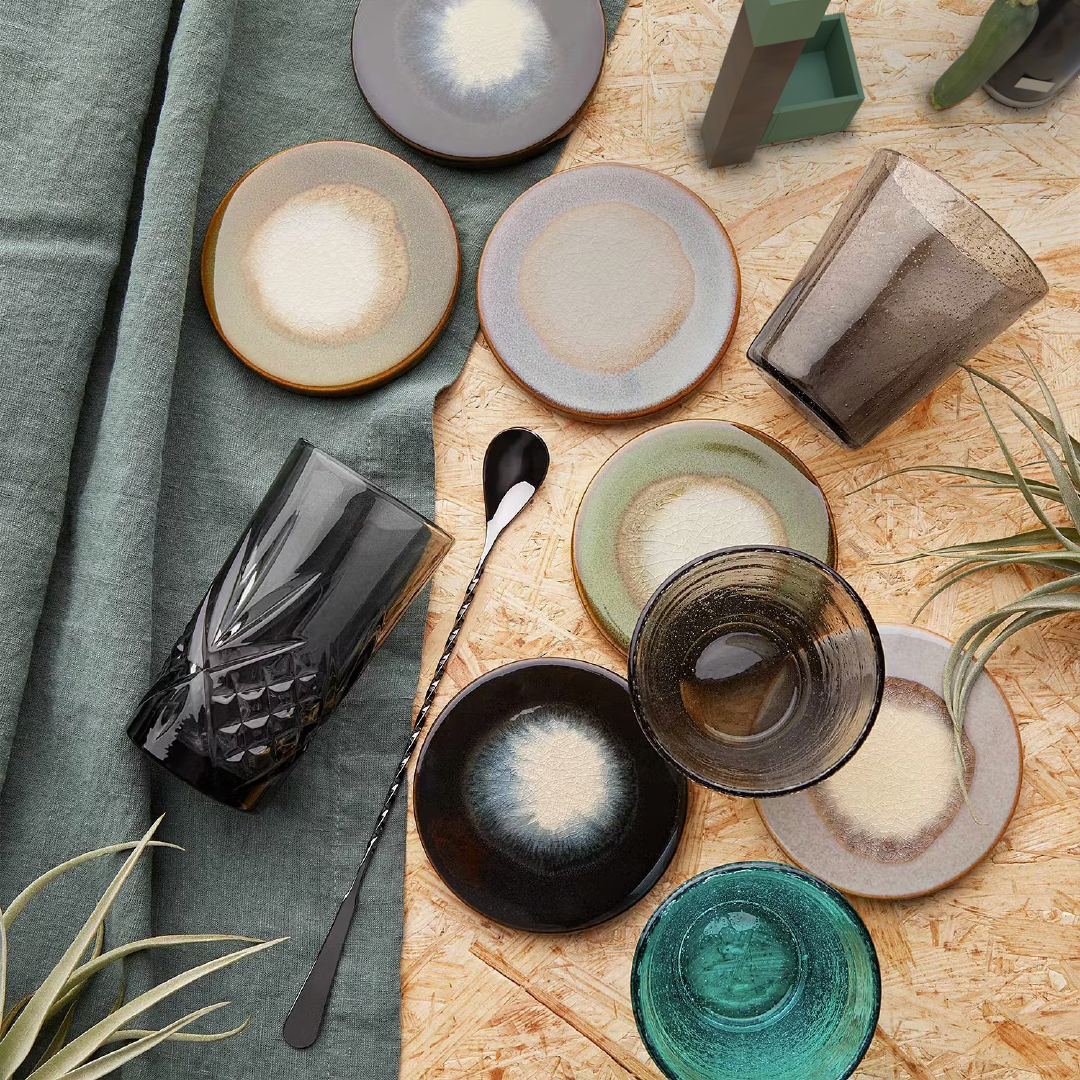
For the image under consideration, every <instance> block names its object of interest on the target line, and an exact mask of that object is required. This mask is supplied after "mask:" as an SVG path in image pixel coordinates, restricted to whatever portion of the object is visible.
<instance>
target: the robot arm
mask: <svg viewBox="0 0 1080 1080" xmlns="http://www.w3.org/2000/svg"><path fill="white" fill-rule="evenodd" d="M1037 4H1038V8H1039V15H1038V18H1037V21H1036V23H1035V25H1034V28H1033V30H1032V31H1031V33H1030V35H1029V36H1028V37H1027V39H1026V40H1025V41H1024V43H1023V44H1022V45H1021V46H1020V48H1019V49H1018V50H1017V51H1016V52H1015V53H1014V54H1013V55H1012V56H1011V57H1010V58H1009V59H1008V60H1007V61H1006V62H1005V63H1004V64H1003V65H1002V66H1001V67H1000V68H999V69H998V70H997V71H996V72H995V73H994V74H993V75H992V76H991V77H990V78H989V79H988V80H987V81H986V82H985V83H984V84H983V85H982V86H981V87H982V88H983V89H984V90H985V92H986V93H988V95H989V96H991V98H993V99H995V100H996V101H997V102H999V103H1001V104H1003V105H1005V106H1008V107H1013V108H1018V109H1028V108H1034V107H1038V106H1040V105H1043V104H1045V103H1047V102H1048V101H1049V100H1051V99H1053V97H1055V95H1056V94H1057V93H1059V91H1060V90H1061V89H1062V88H1066V87H1069V86H1070V85H1071V84H1072V83H1073V82H1074V81H1075V80H1076V79H1077V78H1078V77H1079V76H1080V0H1037Z"/></svg>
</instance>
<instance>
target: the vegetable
mask: <svg viewBox="0 0 1080 1080" xmlns="http://www.w3.org/2000/svg"><path fill="white" fill-rule="evenodd" d="M1038 15H1039V8H1038V4H1037V0H994V1H992V3H991V4H990V6H989V8H988V9H987V11H986V12H985V14H984V16H983V17H982V19H981V22H980V24H979V27H978V29H977V31H976V33H975V35H974V38H973V41H971V43H970V45H969V46H968V48H967V49H966V50H965V51H964V52H963V53H962V54H961V55H960V56H959V57H958V58H956V59H955V60H954V61H953V62H952V63H951V65H950V66H949V67H948V68H947V69H946V70H945V71H944V72H943V73H942V74H941V76H939V77H938V79H937V80H936V82H935V84H934V86H932V87H931V88H930V89H929V90H930V91H929V94H930V97H931V104H932V105H934V109H935V110H940V109H941V110H942V109H943V108H945V109H946V108H951V107H954V106H956V105H958V104H960V103H962V102H963V101H965V100H967V99H968V98H969V97H971V96H972V95H973V94H975V93H976V92H978V90H979V89H980V88H982V87H983V86H982V85H983V84H984V83H985V82H986V81H987V80H988V79H989V78H990V77H991V76H992V75H993V74H994V73H995V72H996V71H997V70H998V69H999V68H1000V67H1001V66H1002V65H1003V64H1004V63H1005V62H1006V61H1007V60H1008V59H1009V58H1010V57H1011V56H1012V55H1013V54H1014V53H1015V52H1016V51H1017V50H1018V49H1019V48H1020V46H1021V45H1022V44H1023V43H1024V41H1025V40H1026V39H1027V37H1028V36H1029V35H1030V33H1031V31H1032V30H1033V28H1034V25H1035V23H1036V21H1037V18H1038Z"/></svg>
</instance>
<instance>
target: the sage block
mask: <svg viewBox="0 0 1080 1080" xmlns="http://www.w3.org/2000/svg"><path fill="white" fill-rule="evenodd" d="M831 1H832V0H744V5H745V9H746V14H747V18H748V22H749V27H750V31H751V36H752V40H753V44H754V47H758V46H763V45H769V44H775V43H781V42H787V41H793V40H799V39H805V38H811V37H814V36H815V33H816V31H817V29H818V27H819V25H820V23H821V21H822V19H823V17H824V15H826V12H827V10H828V8H829V6H830V4H831Z"/></svg>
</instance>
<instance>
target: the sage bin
mask: <svg viewBox="0 0 1080 1080" xmlns="http://www.w3.org/2000/svg"><path fill="white" fill-rule="evenodd" d="M861 79H862V78H861V76H860V71H859V67H858V63H857V58H856V55H855V50H854V46H853V43H852V38H851V34H850V30H849V26H848V21H847V17H846V13H845V11H842V12H836V13H831V14H824V17H823V19H822V21H821V23H820V25H819V27H818V29H817V31H816V33H815V36H814V37H811V38H807V41H806V43H805V45H804V47H803V49H802V51H801V54H800V56H799V58H798V60H797V62H796V64H795V67H794V69H793V71H792V73H791V75H790V77H789V79H788V82H787V84H786V86H785V88H784V90H783V92H782V95H781V97H780V99H779V101H778V103H777V105H776V108H775V110H774V112H773V114H772V116H771V118H770V120H769V123H768V125H767V127H766V129H765V131H764V133H763V136H762V138H761V140H760V142H759V144H758V146H759V145H767V144H772V143H778V142H783V141H784V142H785V141H789V140H795V139H801V138H807V137H812V136H818V135H824V134H830V133H836V132H842V131H846V130H847V128H848V127H849V125H850V124H851V122H852V120H853V119H854V117H855V116H856V114H857V112H858V111H859V109H860V107H862V105H863V103H864V101H865V99H866V96H865V92H864V88H863V83H862V80H861Z"/></svg>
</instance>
